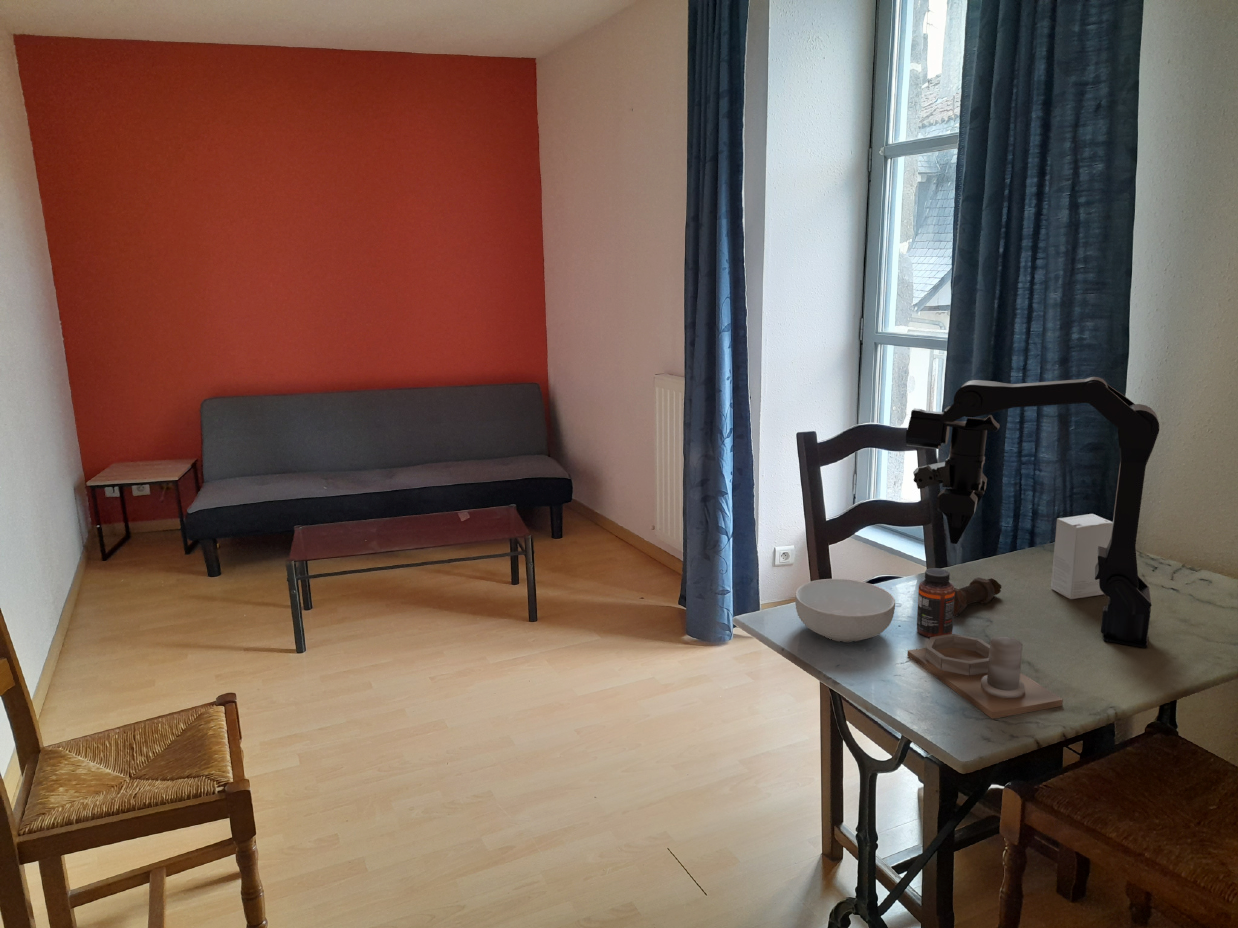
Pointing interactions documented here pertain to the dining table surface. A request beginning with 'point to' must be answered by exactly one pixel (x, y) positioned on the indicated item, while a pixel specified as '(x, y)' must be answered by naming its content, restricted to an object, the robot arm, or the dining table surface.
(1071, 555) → the skincare box
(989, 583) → the bolt
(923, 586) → the supplement bottle
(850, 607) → the cereal bowl
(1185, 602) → the dining table surface
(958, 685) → the pin board
